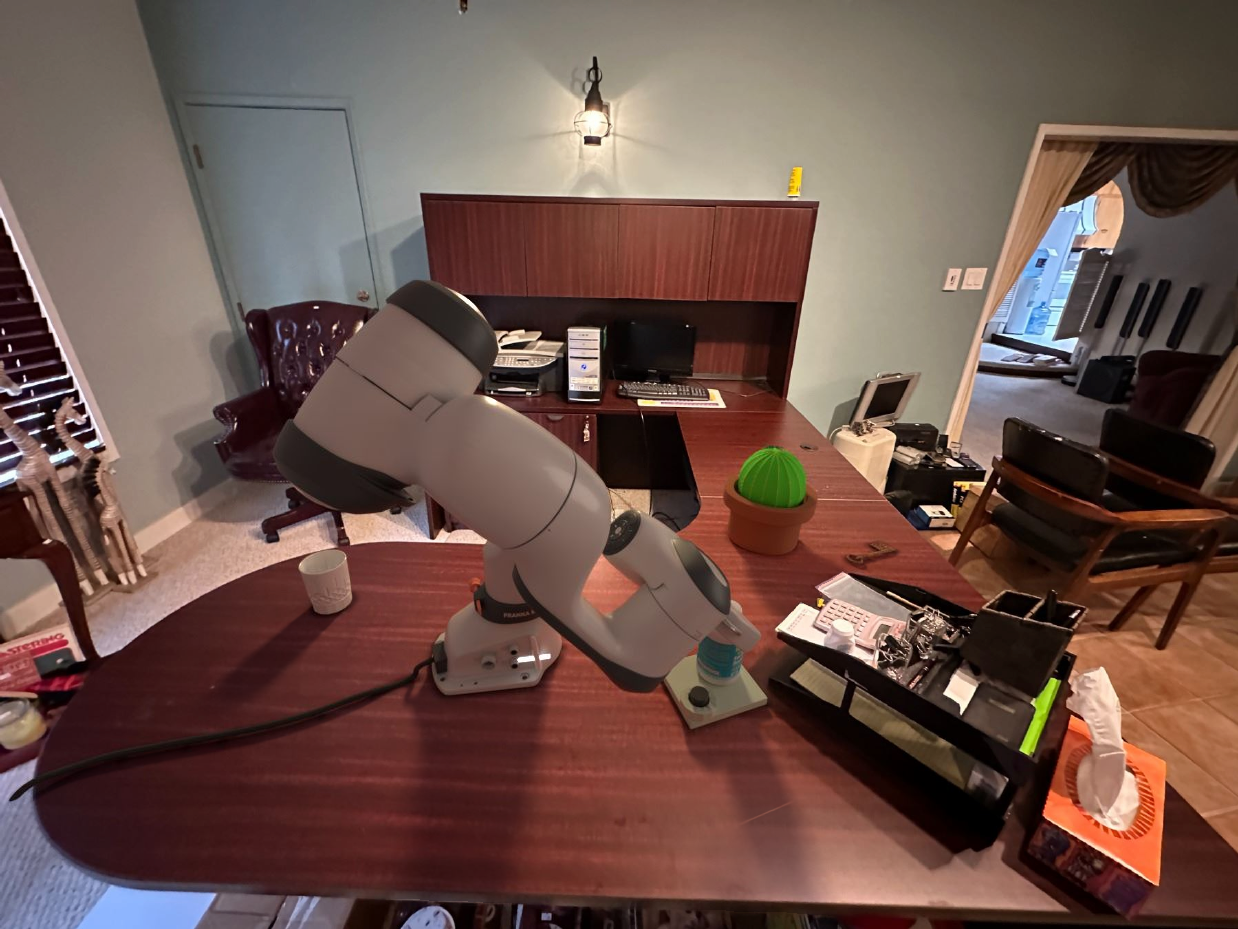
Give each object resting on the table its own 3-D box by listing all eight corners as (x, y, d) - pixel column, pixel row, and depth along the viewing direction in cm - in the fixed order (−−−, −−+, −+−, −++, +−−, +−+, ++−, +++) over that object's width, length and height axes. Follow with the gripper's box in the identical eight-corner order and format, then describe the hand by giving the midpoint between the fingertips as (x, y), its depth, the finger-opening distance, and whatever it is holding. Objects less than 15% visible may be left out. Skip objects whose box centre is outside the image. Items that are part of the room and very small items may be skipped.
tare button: (695, 710, 76) (696, 702, 75) (686, 695, 78) (687, 688, 78) (711, 705, 77) (712, 697, 76) (702, 690, 79) (703, 683, 78)
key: (881, 543, 127) (837, 554, 121) (882, 540, 126) (837, 551, 121) (901, 554, 122) (856, 566, 116) (902, 551, 121) (857, 562, 116)
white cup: (364, 597, 99) (355, 556, 95) (328, 622, 93) (317, 579, 89) (337, 585, 102) (327, 545, 98) (300, 608, 96) (288, 566, 92)
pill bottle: (738, 692, 80) (750, 628, 75) (692, 682, 82) (701, 618, 76) (739, 658, 87) (751, 597, 82) (697, 649, 89) (706, 589, 83)
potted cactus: (796, 573, 113) (819, 474, 103) (705, 543, 123) (718, 450, 112) (813, 530, 131) (834, 442, 120) (733, 507, 140) (746, 424, 130)
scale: (689, 732, 75) (691, 718, 74) (655, 671, 86) (656, 658, 84) (767, 706, 80) (770, 692, 79) (726, 651, 90) (728, 638, 89)
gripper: (744, 608, 64) (787, 642, 72) (663, 528, 80) (706, 564, 88) (711, 645, 64) (758, 675, 72) (637, 557, 80) (682, 590, 88)
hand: (729, 613), depth 80 cm, fingers open, 8 cm apart
